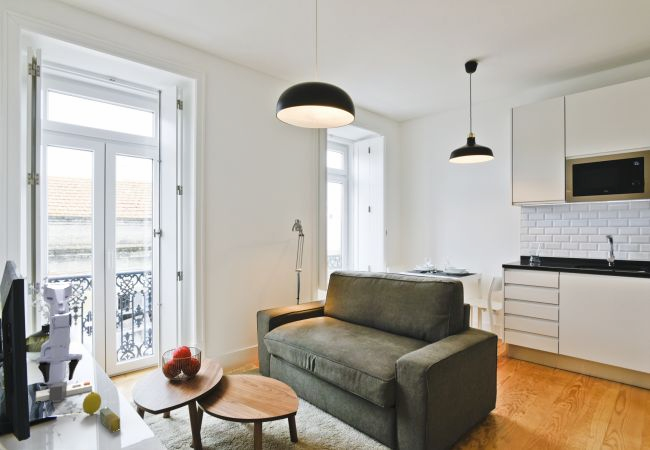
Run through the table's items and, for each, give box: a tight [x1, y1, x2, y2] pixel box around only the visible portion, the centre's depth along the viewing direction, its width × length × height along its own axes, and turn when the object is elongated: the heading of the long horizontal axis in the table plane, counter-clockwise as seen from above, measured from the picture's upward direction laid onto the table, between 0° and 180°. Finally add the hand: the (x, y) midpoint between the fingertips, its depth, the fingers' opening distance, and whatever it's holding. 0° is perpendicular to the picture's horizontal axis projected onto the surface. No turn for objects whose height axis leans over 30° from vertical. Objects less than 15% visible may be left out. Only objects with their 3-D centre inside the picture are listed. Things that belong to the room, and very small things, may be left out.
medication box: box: [99, 407, 121, 433], centre depth 120 cm, size 12×3×4 cm, turn 49°
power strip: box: [35, 380, 93, 402], centre depth 144 cm, size 7×18×4 cm, turn 129°
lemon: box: [82, 391, 102, 416], centre depth 127 cm, size 6×6×8 cm
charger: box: [48, 381, 68, 403], centre depth 137 cm, size 5×4×7 cm
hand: (58, 380), depth 138 cm, fingers open, 7 cm apart
